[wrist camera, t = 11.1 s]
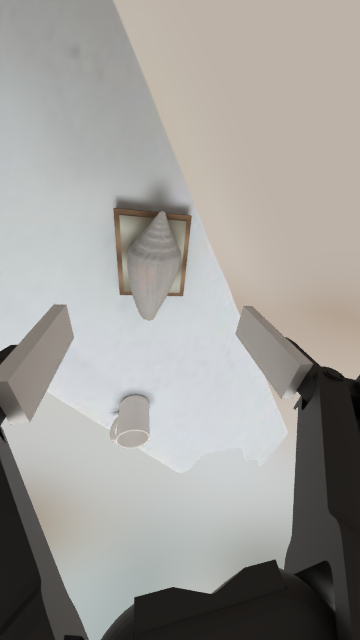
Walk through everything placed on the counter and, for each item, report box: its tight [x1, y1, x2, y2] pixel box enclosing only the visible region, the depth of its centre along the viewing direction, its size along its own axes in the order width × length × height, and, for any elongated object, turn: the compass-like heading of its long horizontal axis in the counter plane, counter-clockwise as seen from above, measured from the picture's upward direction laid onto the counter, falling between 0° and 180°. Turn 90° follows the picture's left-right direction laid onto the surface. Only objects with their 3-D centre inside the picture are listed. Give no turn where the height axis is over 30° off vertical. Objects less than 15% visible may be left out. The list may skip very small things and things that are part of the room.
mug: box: [110, 395, 150, 448], centre depth 52 cm, size 12×8×10 cm
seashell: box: [127, 210, 181, 320], centre depth 31 cm, size 9×11×15 cm
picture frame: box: [114, 208, 191, 296], centre depth 34 cm, size 14×12×3 cm
